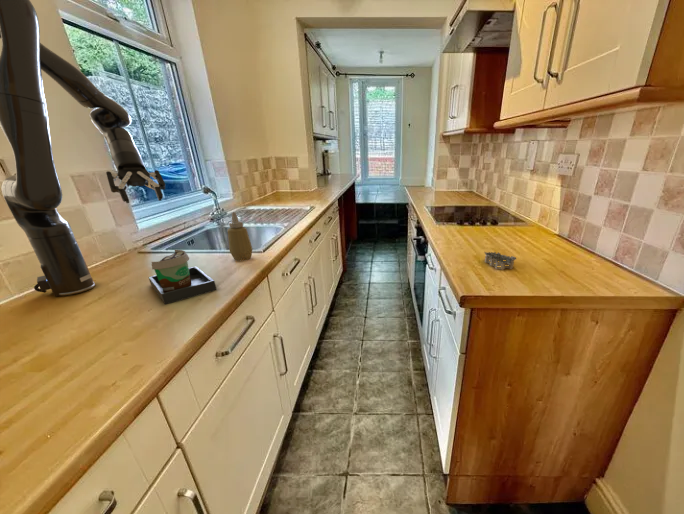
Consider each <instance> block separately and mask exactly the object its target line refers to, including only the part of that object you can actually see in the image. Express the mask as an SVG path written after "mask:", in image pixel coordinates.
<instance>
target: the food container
mask: <svg viewBox="0 0 684 514" xmlns="http://www.w3.org/2000/svg"><path fill="white" fill-rule="evenodd" d="M189 260H190V257H189V255H188V253H187V252H186V251H185V250H184V249H183V250H182V249H174V253H172V254H169V255H167V256H164V257H163V258H162V259H160V260H157V261H151V270H153V271H154V272H155V275H157V277H158V280H159V282H160V285H161V287H162V290H163V292H164V293H166V292H169V291H173V290H177V289H181V288H185V287H189V286H190V285H191V279H190V273H189V268H190V267H189V263H188V262H189Z"/></svg>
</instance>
